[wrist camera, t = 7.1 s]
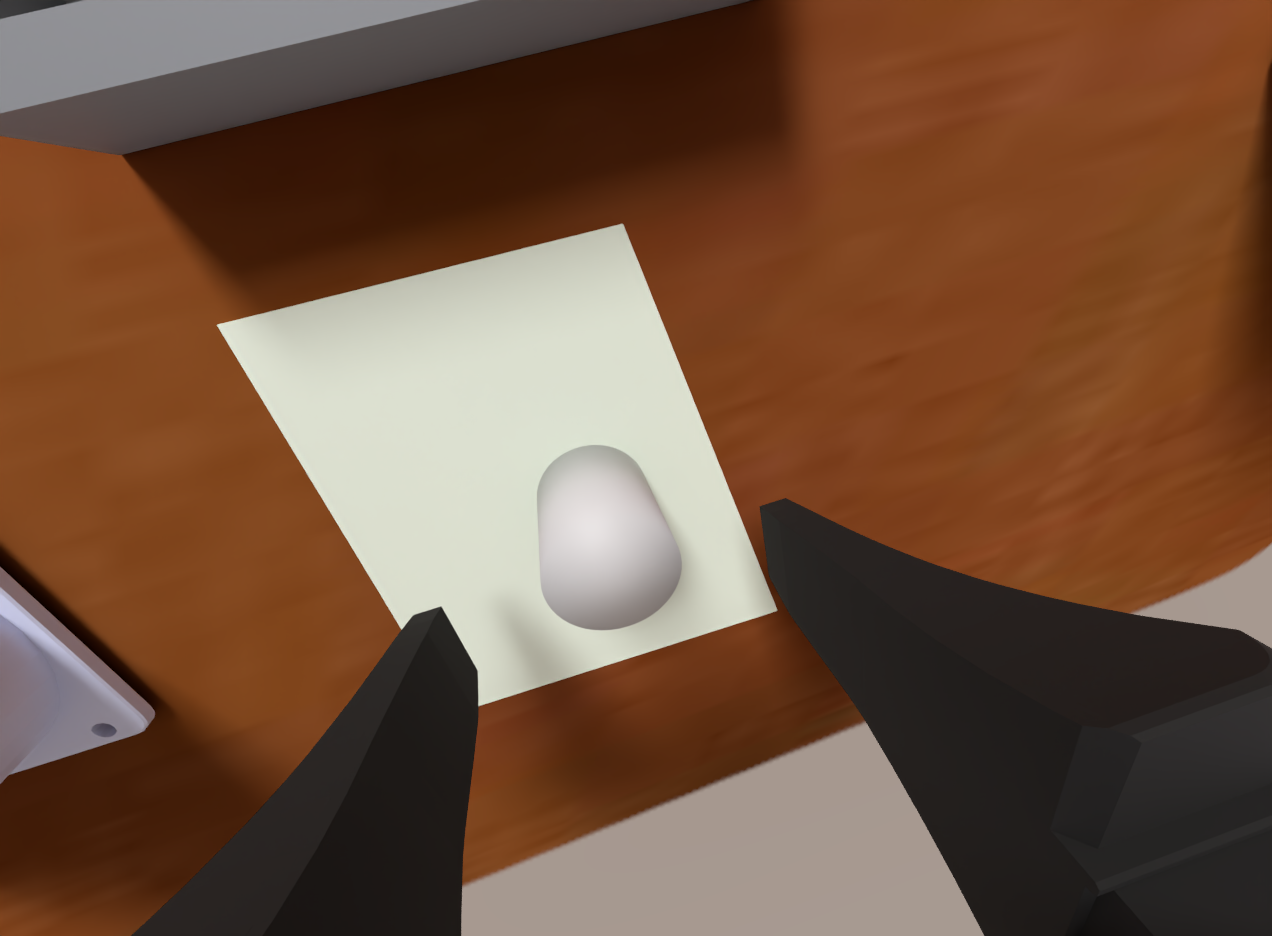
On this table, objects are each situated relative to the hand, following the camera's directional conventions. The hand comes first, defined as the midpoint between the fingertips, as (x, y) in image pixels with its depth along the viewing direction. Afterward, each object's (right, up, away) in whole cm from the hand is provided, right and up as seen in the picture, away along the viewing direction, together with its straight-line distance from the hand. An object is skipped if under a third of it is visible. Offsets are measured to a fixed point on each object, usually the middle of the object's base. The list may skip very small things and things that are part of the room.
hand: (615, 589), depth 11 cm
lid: (-1, +2, +3) cm, 4 cm away
